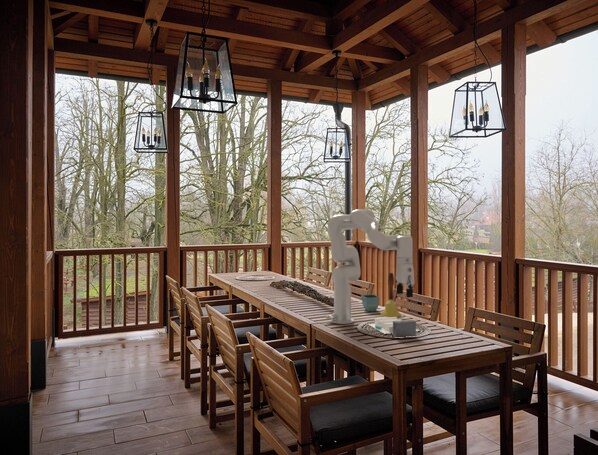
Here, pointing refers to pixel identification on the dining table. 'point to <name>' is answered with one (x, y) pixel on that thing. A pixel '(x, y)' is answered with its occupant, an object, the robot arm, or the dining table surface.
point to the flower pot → (370, 302)
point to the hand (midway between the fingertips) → (404, 295)
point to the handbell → (391, 301)
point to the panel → (404, 328)
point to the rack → (385, 324)
